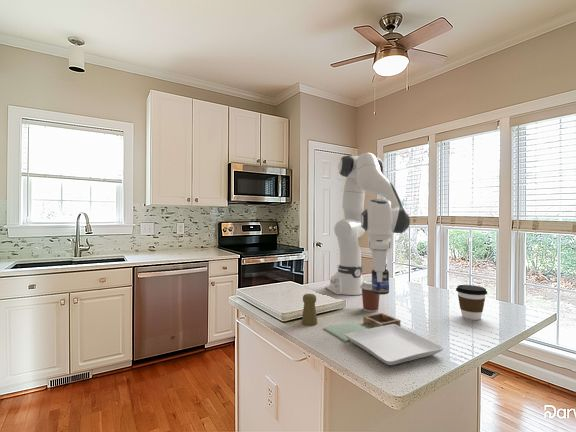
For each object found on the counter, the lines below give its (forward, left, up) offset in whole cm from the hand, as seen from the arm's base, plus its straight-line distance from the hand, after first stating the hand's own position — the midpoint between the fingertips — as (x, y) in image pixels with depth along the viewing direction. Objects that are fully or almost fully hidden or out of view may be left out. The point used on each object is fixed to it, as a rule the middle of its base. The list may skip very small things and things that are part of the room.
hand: (379, 279), depth 116 cm
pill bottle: (0, 0, -5) cm, 5 cm away
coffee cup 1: (-16, +10, -17) cm, 26 cm away
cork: (-14, -22, -17) cm, 31 cm away
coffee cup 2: (+10, +39, -17) cm, 44 cm away
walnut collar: (0, +1, -17) cm, 17 cm away
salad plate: (+17, -11, -18) cm, 27 cm away
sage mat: (0, -14, -17) cm, 22 cm away
